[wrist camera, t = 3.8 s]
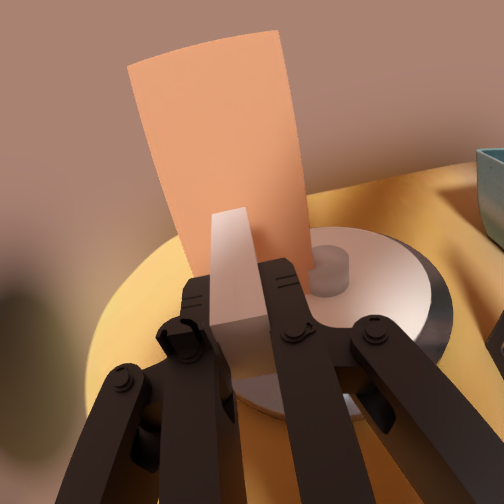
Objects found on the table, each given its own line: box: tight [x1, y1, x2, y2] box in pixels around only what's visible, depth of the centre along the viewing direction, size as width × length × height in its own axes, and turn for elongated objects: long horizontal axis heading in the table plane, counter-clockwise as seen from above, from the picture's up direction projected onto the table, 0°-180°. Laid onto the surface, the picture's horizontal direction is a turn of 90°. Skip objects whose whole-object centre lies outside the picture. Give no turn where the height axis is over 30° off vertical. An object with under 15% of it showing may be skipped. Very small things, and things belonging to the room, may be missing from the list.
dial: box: [127, 30, 431, 375], centre depth 16 cm, size 16×15×17 cm
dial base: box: [231, 232, 453, 422], centre depth 21 cm, size 19×19×4 cm
